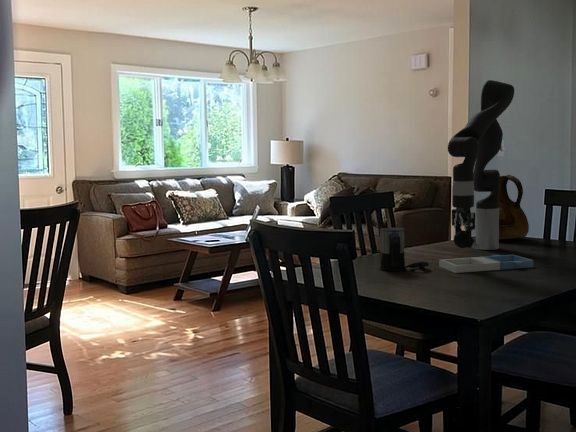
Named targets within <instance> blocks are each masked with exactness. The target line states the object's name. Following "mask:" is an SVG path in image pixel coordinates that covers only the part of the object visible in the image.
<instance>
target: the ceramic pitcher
mask: <svg viewBox="0 0 576 432" xmlns="http://www.w3.org/2000/svg"><path fill="white" fill-rule="evenodd" d="M509 181H511V182H512V183H514V185H515V186H516V189H517V198H516V201H513V200H512V199H511V198H510V196H509V193H508V187H507V186H508V182H509ZM523 195H524V189H523V184H522V182H521V180H520V179H519V178H517V177H516V176H514V175H512V174H507V175H500V190H499V241H500V240H513V239H520V238H525V237H526V236H528V233H529V232H530V231H529V230H530V229H529V228H530V227H529V221H528V216H527V215H526V213H525V211H524V210H523V209H522V207H521V204H522V203H521V202H522V199H523Z"/></svg>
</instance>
